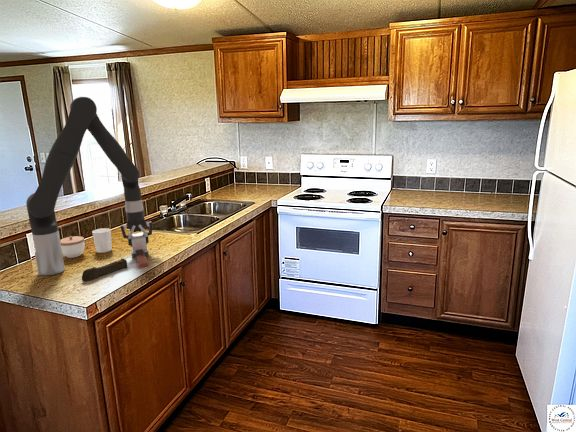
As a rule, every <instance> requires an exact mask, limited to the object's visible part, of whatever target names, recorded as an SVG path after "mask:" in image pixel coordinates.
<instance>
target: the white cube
mask: <svg viewBox="0 0 576 432" xmlns="http://www.w3.org/2000/svg"><path fill="white" fill-rule="evenodd" d="M131 241H132V247H131V249H133V250H139V249H146V248H147V249H148V247H147V244H146V238H145V235H144V233H143V232H135V233H133V234H132V236H131Z"/></svg>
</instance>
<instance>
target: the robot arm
mask: <svg viewBox="0 0 576 432" xmlns="http://www.w3.org/2000/svg"><path fill="white" fill-rule="evenodd" d="M69 108H70V111H69V113H68V117H67V120H66V122H65V124H64V127H63V129H62V130H61V131H60V133H58V136H57V138H55V140H54V143H52V146H51V148H50V150H49V153H48V155H47V157H46V160H45V164H44V168H43V173H42V176H41V180H40V182H39V184H38V186H37V189H36V190H35V192H33V193H32V194H31V195H29V196H28V197H27V200H26V210H27V214H28V215H27V216H28V220H29V226H30V230H31V235H32V241H33V245H34V250H35V252H34V257H35V262H36V267H37V272H38V273H37V274H38V276H39V277H40V276H53V275H56V274H57V275H58V274H60V273H63V272H64V271H65V269H66V267H65V262H64V255H63V254H62V249H61V243H60V240H61V238H60V231H59V226H58V222H57V217H56V213H55V212H56V211H55V208H56V204H57V201H58V199H59V195H60V191H61V189H62V187H63V184H64V183H65V181H66V180H67V178H68V175H69V174H70V172H71V170H72V168H73V166H74V164H75V162H76V159H77V157H78V155H79V151H80V149H81V145H82V143H83V140H84V139H83V138H84V136H85V134H86V132H87V131H88V132H89V134H90V135H92V137H93V139H94V140H95V141H96V142H97V144H98V146H99V148H101V150H102V152H104V154H105V155H106V157H107V159H109V161H110V162H111V163H112V164H113V165H114V167H116V169H117V171H118V172H119V174H120V177H121V182H122V186H123V193H124V202H125V203H124V206H125V208H124V210H125V214H126V224H121V225H119V226H120V231H121V234H122V236H123V237H122V238H123V239H127V243H128V246H129V247H130V248H132V241H131V236H132V234H134V233H144V235H145V238H146V245H148V244H149V243H150V242H149V236H151V235H153V222H152V221H151V220H149V221H146V219H145V218H146V217H145V211H144V203H143V200H142V199H143V197H142V191H141V190H142V189H141V188H140V185H139V179H140V171H139V169H138V167H137V166H136V165H135V164H134V162H132V160H131V159H130V158H129V157H128V155H127V152H126V151H125V150H124V149H123V147H122V146H121V145H120V143H119V142H118V141H117V139H116V138H115V137H114V136H113V135H112V133H111V132H109V130H108V128H106V127H105V125H104V124H103V122H102V120H101V119H100V117H99V116H98V113H97V111H98V110H97V109H98V108H97V105H96V103H95V101H94V100H93V99H92V98H90V97H89V96H79V97H76V98H74V99H73V100H72V101H71V103H70V106H69ZM146 226H147V227H148V232H147V231H146V229H145V227H146ZM127 228H128V229H129V232H128V234H126V229H127Z"/></svg>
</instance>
